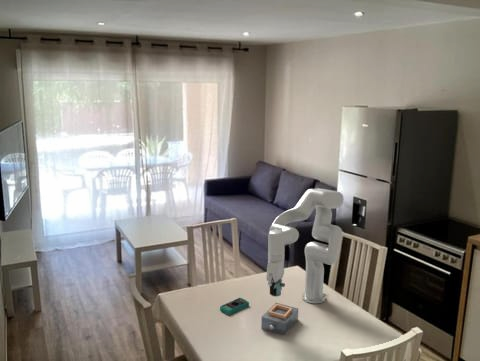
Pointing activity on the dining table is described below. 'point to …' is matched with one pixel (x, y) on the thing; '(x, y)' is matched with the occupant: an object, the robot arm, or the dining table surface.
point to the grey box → (279, 318)
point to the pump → (278, 287)
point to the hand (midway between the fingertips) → (275, 292)
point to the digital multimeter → (234, 306)
